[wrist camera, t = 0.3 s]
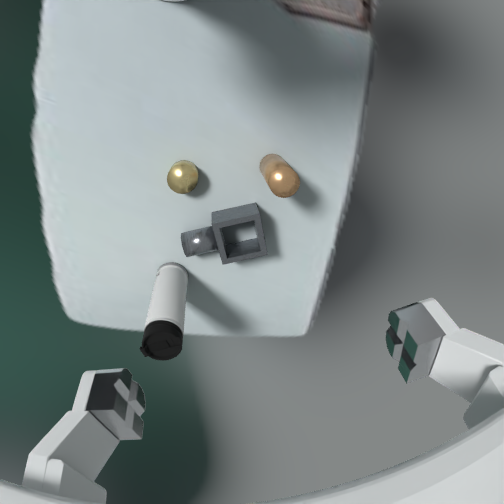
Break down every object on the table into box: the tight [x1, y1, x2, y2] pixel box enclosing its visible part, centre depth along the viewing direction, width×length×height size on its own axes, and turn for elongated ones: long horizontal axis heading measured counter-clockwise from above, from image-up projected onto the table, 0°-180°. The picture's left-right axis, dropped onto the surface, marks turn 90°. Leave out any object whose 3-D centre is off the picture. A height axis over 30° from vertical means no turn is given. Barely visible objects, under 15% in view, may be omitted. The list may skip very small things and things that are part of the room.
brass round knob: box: [167, 160, 198, 194], centre depth 50 cm, size 5×5×3 cm
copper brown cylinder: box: [260, 154, 300, 198], centre depth 48 cm, size 4×4×10 cm
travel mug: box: [140, 263, 188, 360], centre depth 52 cm, size 6×7×20 cm
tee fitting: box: [181, 203, 267, 264], centre depth 55 cm, size 8×14×5 cm, turn 101°
